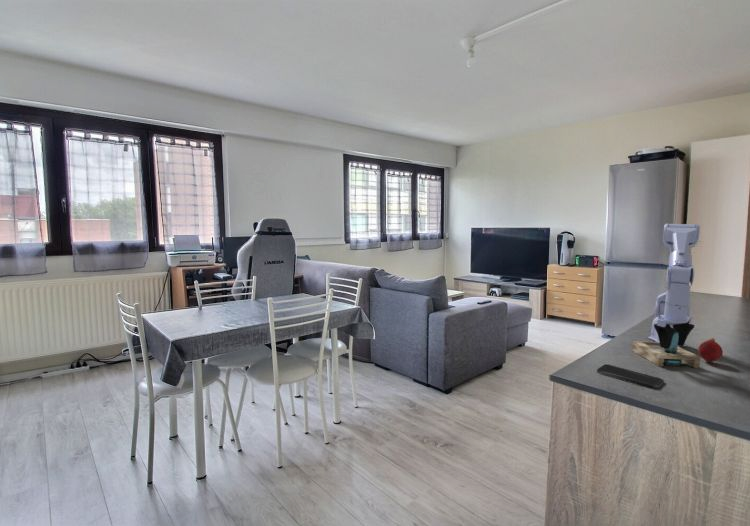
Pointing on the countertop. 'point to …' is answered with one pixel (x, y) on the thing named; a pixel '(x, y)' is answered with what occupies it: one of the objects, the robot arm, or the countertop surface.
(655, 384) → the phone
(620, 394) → the countertop surface
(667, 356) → the beige wooden frame
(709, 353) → the onion
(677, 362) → the peg
